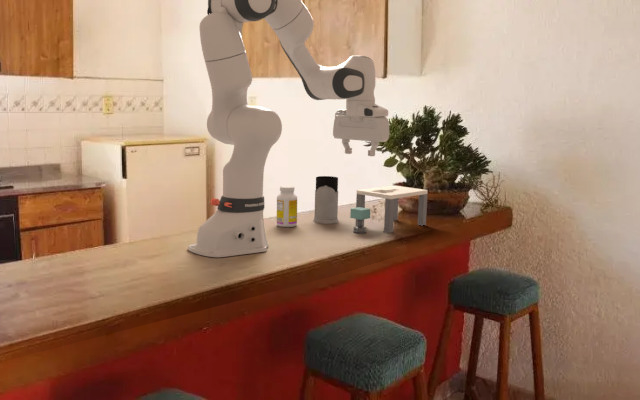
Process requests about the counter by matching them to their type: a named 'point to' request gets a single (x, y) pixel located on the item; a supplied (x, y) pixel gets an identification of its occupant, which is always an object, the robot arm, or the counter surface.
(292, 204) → the supplement bottle
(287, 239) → the counter surface
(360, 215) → the keyhole peg
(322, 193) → the glass holder
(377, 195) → the keyhole bracket
